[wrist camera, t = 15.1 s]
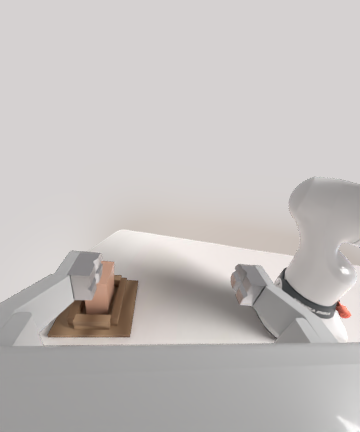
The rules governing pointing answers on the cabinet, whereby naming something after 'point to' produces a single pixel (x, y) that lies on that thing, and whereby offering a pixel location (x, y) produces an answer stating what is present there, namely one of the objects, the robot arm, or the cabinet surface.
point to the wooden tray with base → (95, 323)
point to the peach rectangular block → (102, 291)
